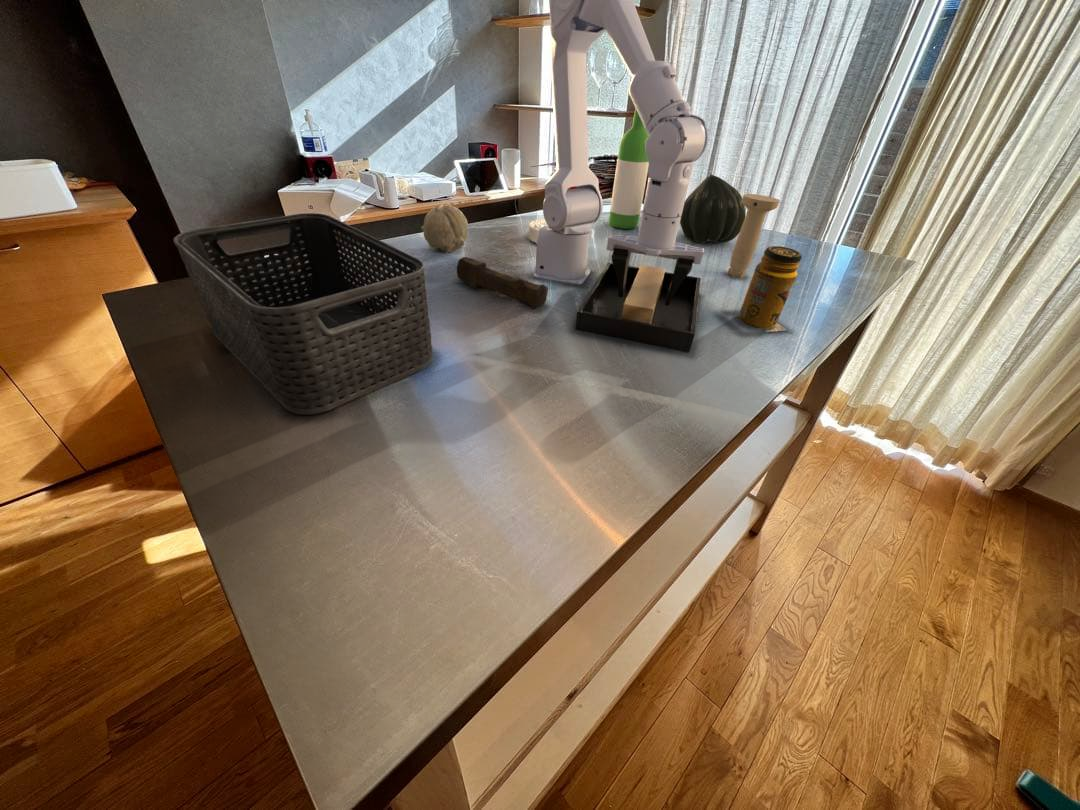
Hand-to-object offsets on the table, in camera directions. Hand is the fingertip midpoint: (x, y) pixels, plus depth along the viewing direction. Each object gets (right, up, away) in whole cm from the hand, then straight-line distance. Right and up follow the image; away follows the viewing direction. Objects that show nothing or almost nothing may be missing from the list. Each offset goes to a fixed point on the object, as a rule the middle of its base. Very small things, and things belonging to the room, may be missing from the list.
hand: (643, 299), depth 74 cm
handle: (+23, +9, +18) cm, 31 cm away
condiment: (+18, -4, +1) cm, 19 cm away
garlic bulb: (-38, +16, +21) cm, 46 cm away
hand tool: (-25, +2, +4) cm, 26 cm away
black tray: (0, -2, +1) cm, 2 cm away
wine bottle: (+5, +30, +43) cm, 52 cm away
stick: (0, -2, +1) cm, 2 cm away
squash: (+24, +24, +37) cm, 50 cm away
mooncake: (-14, +21, +31) cm, 40 cm away
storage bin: (-47, -10, -13) cm, 50 cm away
